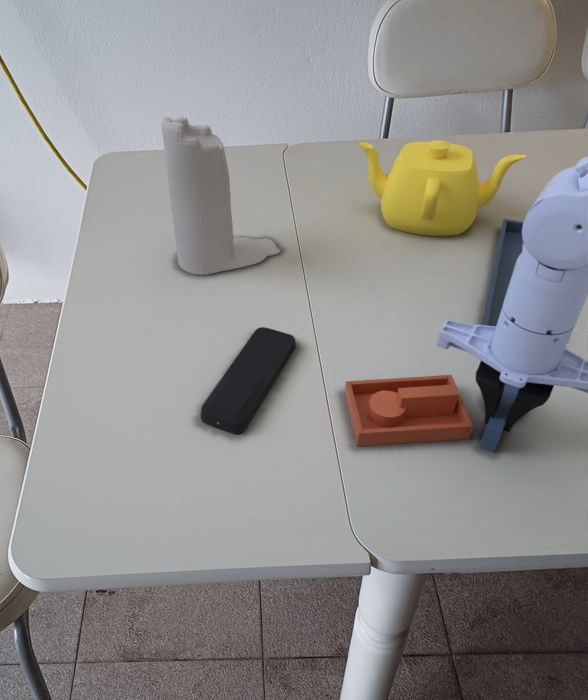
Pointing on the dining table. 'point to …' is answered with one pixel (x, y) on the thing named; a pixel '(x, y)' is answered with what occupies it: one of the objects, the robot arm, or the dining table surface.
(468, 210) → the teapot
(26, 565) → the dining table surface
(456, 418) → the terracotta tray
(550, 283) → the robot arm
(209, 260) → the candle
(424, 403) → the terracotta spoon
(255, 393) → the remote control
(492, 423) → the slate spoon
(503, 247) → the slate tray
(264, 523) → the dining table surface
